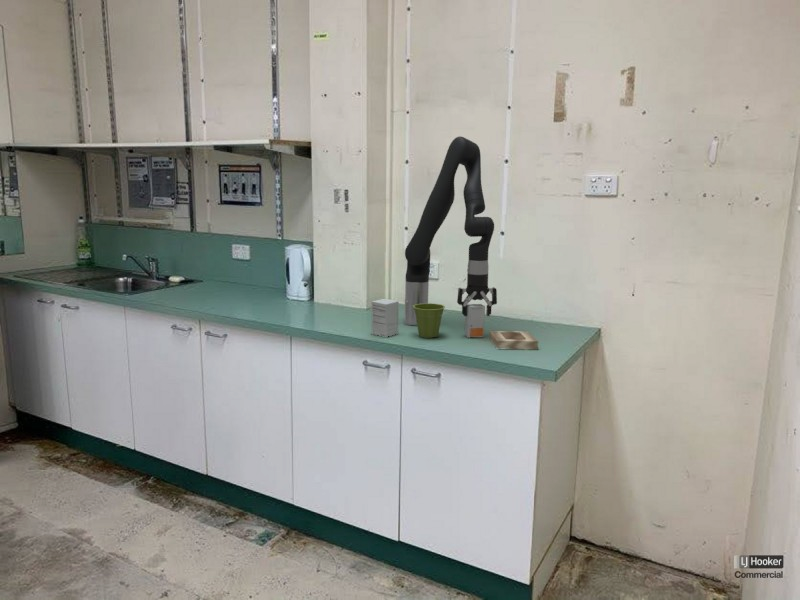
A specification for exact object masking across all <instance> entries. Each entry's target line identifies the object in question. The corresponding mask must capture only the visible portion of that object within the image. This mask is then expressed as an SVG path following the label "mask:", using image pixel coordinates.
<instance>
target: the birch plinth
mask: <svg viewBox="0 0 800 600" xmlns="http://www.w3.org/2000/svg"><path fill="white" fill-rule="evenodd" d="M488 332H489V334H488V335H489V336H488V337H489V338H488V339H489V341H490V340H491V341H492V342H491V341H490V342H491V344H492V345H493V344H494V345H495V346H496V347H497V348H505V349H538V348H539V340H537V338H535V337H534V336H533V335H532V334H531V333H530V332H529V331H528V330H524V331H523V330H509V331H508V330H489V331H488ZM494 345H493V346H494ZM495 346H494V347H495ZM496 347H495V348H496ZM538 350H539V349H538Z"/></svg>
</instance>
